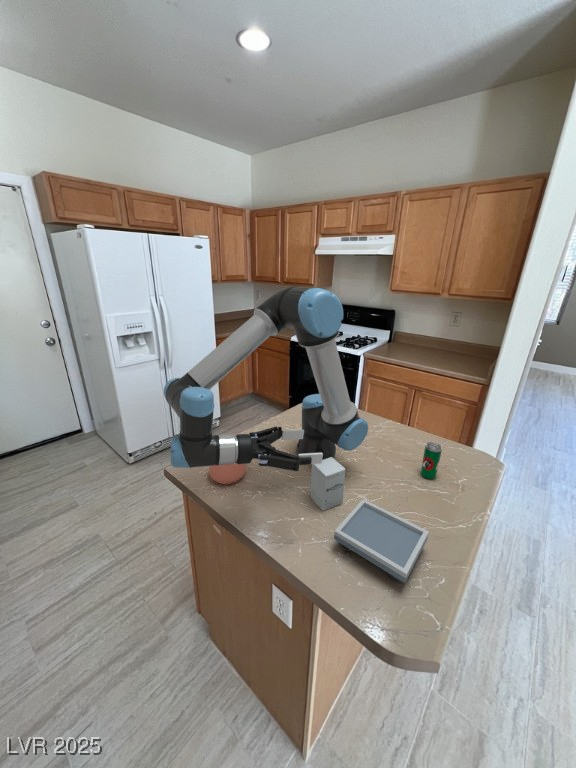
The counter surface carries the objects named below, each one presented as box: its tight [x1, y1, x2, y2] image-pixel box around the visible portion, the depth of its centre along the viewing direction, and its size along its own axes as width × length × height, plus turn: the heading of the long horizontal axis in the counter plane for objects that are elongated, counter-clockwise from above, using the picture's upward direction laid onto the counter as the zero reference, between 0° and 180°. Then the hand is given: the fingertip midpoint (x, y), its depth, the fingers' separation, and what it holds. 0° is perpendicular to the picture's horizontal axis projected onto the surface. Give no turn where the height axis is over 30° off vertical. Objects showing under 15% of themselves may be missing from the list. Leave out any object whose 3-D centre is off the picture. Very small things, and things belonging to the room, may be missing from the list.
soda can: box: [419, 441, 443, 480], centre depth 105 cm, size 5×5×12 cm
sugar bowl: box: [208, 462, 247, 485], centre depth 105 cm, size 12×14×10 cm
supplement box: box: [309, 457, 346, 512], centre depth 93 cm, size 7×7×13 cm
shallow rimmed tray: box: [333, 498, 430, 584], centre depth 78 cm, size 18×15×6 cm
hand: (311, 445), depth 86 cm, fingers open, 13 cm apart
